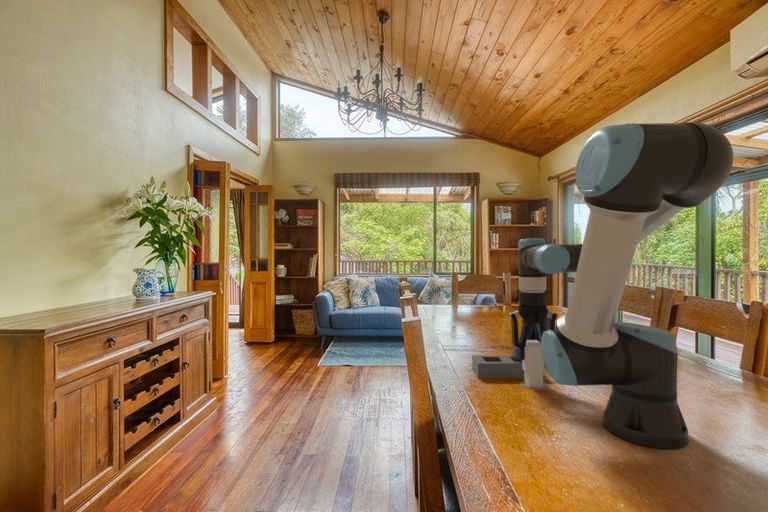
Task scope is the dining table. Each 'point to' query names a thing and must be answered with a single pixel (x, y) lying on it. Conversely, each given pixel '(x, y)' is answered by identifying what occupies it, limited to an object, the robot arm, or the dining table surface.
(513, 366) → the strip
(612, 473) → the dining table surface
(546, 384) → the coaster
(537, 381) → the plug
